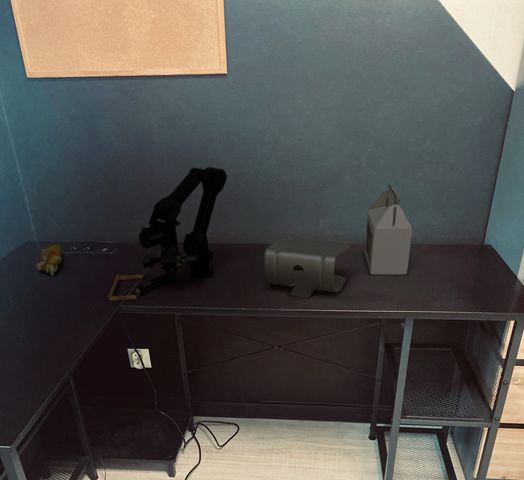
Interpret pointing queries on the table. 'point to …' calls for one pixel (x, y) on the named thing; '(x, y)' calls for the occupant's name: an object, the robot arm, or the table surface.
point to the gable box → (387, 236)
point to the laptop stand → (304, 265)
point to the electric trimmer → (151, 284)
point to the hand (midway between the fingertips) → (173, 282)
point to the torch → (50, 259)
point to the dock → (112, 291)
